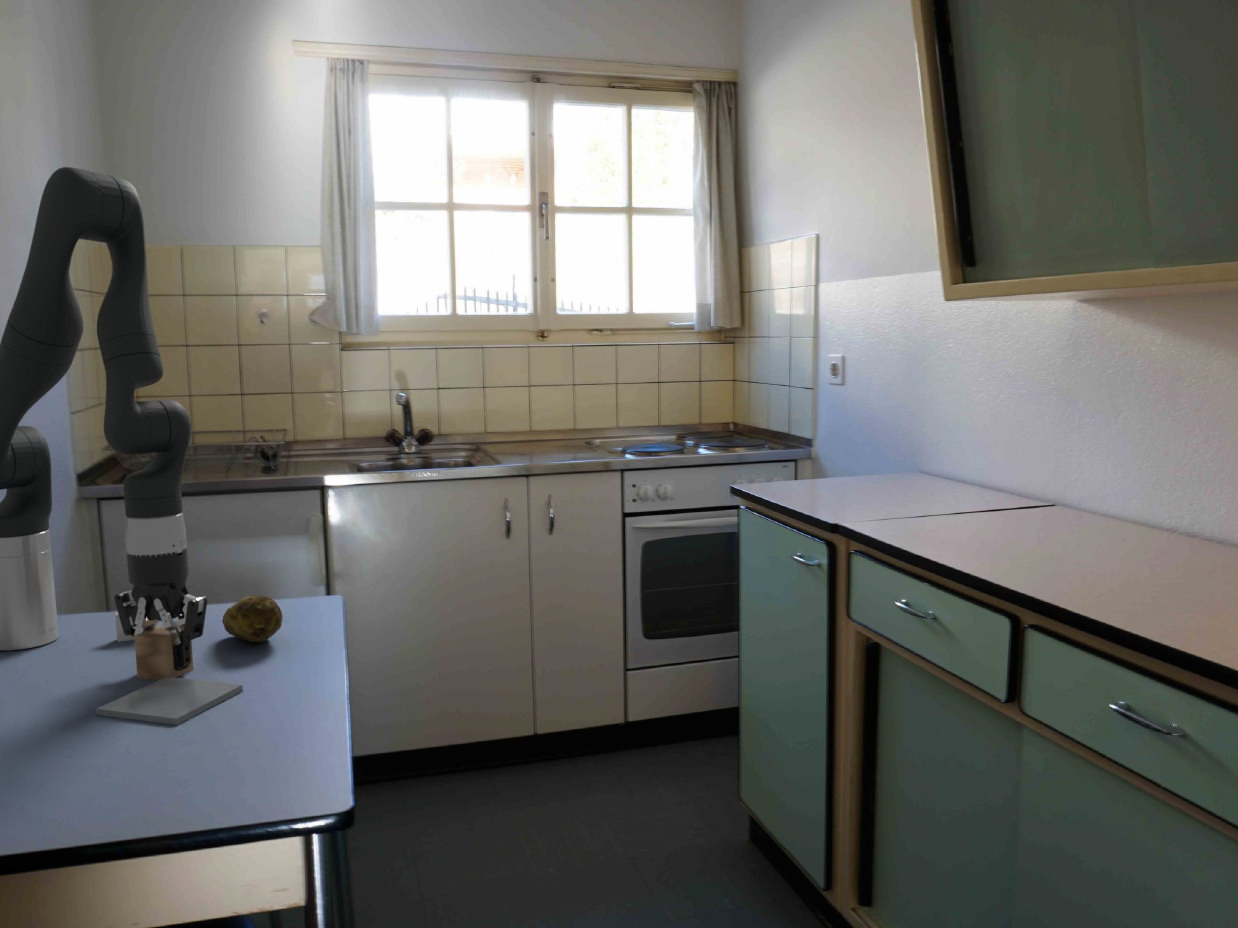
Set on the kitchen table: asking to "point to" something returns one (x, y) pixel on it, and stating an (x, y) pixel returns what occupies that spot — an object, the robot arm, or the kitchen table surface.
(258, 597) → the potato
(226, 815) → the kitchen table surface
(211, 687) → the coaster
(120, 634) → the lighter
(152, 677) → the block
